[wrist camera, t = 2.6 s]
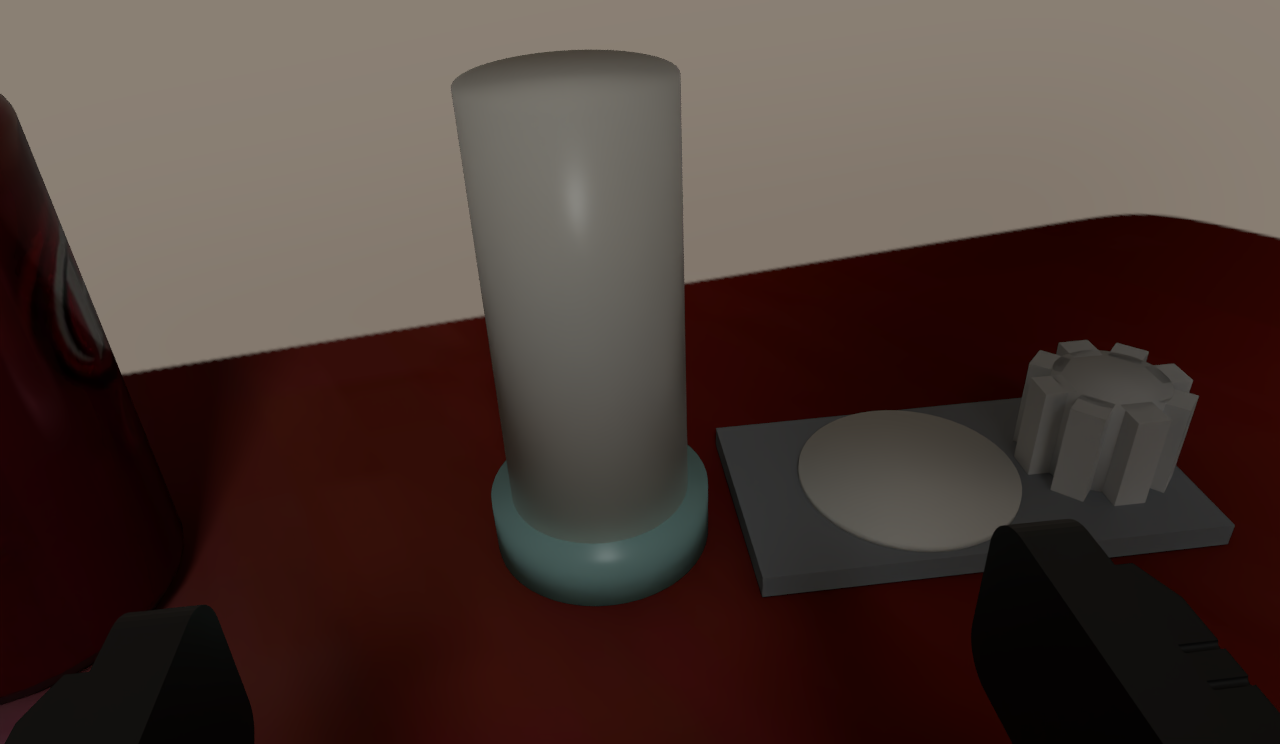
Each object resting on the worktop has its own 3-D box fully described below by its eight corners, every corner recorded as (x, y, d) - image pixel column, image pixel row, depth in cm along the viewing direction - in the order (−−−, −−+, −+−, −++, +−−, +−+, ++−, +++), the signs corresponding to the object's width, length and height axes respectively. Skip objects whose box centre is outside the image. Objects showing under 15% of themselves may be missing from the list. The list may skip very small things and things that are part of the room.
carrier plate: (1097, 406, 28) (1121, 314, 26) (1227, 544, 23) (1268, 441, 21) (715, 445, 27) (716, 353, 25) (762, 597, 22) (766, 494, 20)
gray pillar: (690, 454, 26) (683, 36, 20) (725, 592, 22) (731, 107, 16) (500, 473, 26) (435, 54, 20) (496, 618, 22) (410, 131, 15)
